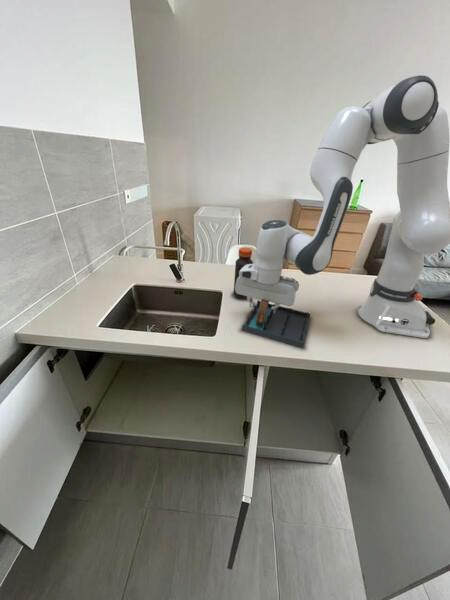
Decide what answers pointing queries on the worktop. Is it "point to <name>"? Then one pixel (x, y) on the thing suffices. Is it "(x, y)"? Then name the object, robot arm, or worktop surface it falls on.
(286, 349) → the worktop surface
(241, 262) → the bottle
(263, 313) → the brown flat piece
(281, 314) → the tray
